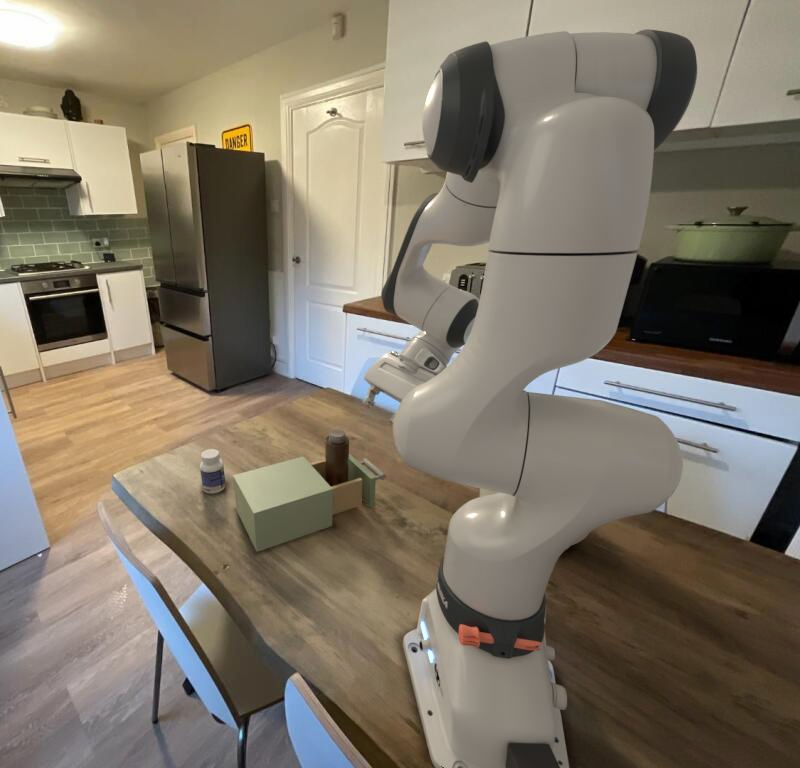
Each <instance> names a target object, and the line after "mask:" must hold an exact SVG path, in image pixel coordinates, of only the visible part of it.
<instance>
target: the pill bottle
mask: <svg viewBox="0 0 800 768" xmlns="http://www.w3.org/2000/svg"><path fill="white" fill-rule="evenodd" d="M200 458H201V462H200V463H199V472H200V478H201V486H202V490H203V492H204V493H207V494H212V495H213V494H217V493H220V492H223V491H224V489H225V488H226V474H225V467H224V461H223V460H222V459H221V456H220V451H219V450H218V449H215V448H209V449H206V450H204V451H202V452H201V454H200Z"/></svg>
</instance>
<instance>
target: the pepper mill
mask: <svg viewBox="0 0 800 768" xmlns="http://www.w3.org/2000/svg"><path fill="white" fill-rule="evenodd" d="M324 452H325V453H324V456H325V457H324V459H325V481H326V482H327V483H328V484H329V485H330V487H332V486H335V485H338V484H341V483H345V482H348V473H349V454H350V439H349V437H348V436H346V432H345V430H343V429H340V428H336V429H335V428H334V429H331V430H330V431H329V432H328V436H326V437H325V440H324Z"/></svg>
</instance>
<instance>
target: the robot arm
mask: <svg viewBox="0 0 800 768" xmlns="http://www.w3.org/2000/svg"><path fill="white" fill-rule="evenodd" d="M697 77H698V61H697V53H696V50H695V46H694V45H693V43H692V41H691V40H690V39H689V38H687V37H686V36H683V35H681V34H678V33H675V32H670V31H665V30H664V31H663V30H658V29H647V28H646V29H641V30H639V31H637V32H635V33H630V32H629V33H627V32H607V31H604V32H603V31H600V32H598V31H596V32H594V31H593V32H591V31H590V32H572V33H570V32H568V31H567V30H563V31H554V32H547V33H546V32H545V33H539V34H533V35H527V36H522V37H518V38H513V39H509V40H504V41H501V42H496V43H492V44H490V43H489V42H488V41H487V40H485V41H481V42H477V43H473V44H471V45H468V46H465V47H462V48H459V49H457V50H455V51H453V52H450V53H449V54H448V55H447V56H446V57H445V59H444V60H443V62H442V63H441V64H440V65H439V67H438V68H437V70H436V72H435V75H434V78H433V81H432V83H431V85H430V87H429V90H428V91H427V95H426V99H425V101H424V106H423V111H422V119H421V120H422V121H421V123H422V125H421V127H422V136H423V140H424V145H425V148H426V155H427V157H428V160H430V161H431V162H432V164H434V165H435V166H436V167H437V168H438V169H439V170H440V171H441V170H442V171H444V172H446V174H445V175H446V176H445V178H444V183H443V185H442V188H441V189H440V191H439V192H435V193H431V194H430V195H428V196H427V197H426V198H425V199H424V200H423V201H422V202H421V204H420V205H418V208H417V209H416V210H415V212H414V214H413V216H412V219H411V220H410V223H409V225H408V228H407V230H406V232H405V235H404V238H403V241H402V243H401V246H400V249H399V251H398V253H397V256H396V260H395V261H394V265H393V267H392V270H391V271H390V274H389V276H388V277H387V279H386V281H385V282H384V285H383V287H382V289H381V294H380V295H381V301H382V305H383V309H384V311H385V312H386V313H388V314H391V315H393V316H395V317H396V318H399V319H401V320H403V321H405V322H407V323H408V324H410V325H411V326H412V327H415V328H417V329H418V330H420V331H419V332H418V333H417V334H415V335H413V336H412V338H411V339H410V340H409V342H408V343H407V344H406V345H405V347H404V348H403V349H402V350H401V352H400V353H399V352H398V351H395V350H392V351H390V352H386V353H384V355H381V356H380V357H379V358H378V359H377V360H376V361H375V362H374V363H372V364H371V366H370V367H369V368H368V369H367V370H366V371H365V373H364V376H363V380H364V381H366V383H367V384H368V385H369V387H368V388H367V393H366V397H365V398H364V399H363V401H362V404H363V406H365V407H366V408H368V409H372V408H373V406H374V405H375V404H376V402H375V399H376V396H378V395H379V394H380V393H383V394H385V395H387V396H388V397H390V398H392V400H393V399H394V401H397V402H398V403H399V405H398V407H397V408H396V411H395V413H393V414H392V415H391V417H390V418H389V421H388V422H389V423H390V424H392V437H393V443H394V446H395V449H396V452H397V454H398V456H399V457H400V459H401V460H402V462H403V463H404V464H405V465H406V466H407V467H409V468H411V469H414V470H416V471H419V472H420V473H423V474H426V475H427V476H431V477H433V478H436V479H438V480H441V481H443V482H445V483H446V482H447V483H451V484H456V485H459V486H460V485H461V486H466V487H471V488H474V489H479V490H480V489H485V490H490V491H494V492H499V493H495V494H491V495H487V496H482V497H480V496H478V497H475V498H473V499H470V500H469V501H467V502H466V503H464V504H462V505H461V506H460V507H459V508H458V509H457V510H456V511H455V512H454V513H453V515H452V516H451V518H450V520H449V522H448V527H447V535H446V543H445V549H444V555H443V557H442V558H441V560H440V563H439V566H438V568H437V573H436V584H435V588H434V589H433V590H432V591H431V592H429V594H427V595H426V596H425V597H424V598H423V599H422V601H421V606H420V610H419V615H418V619H417V620H418V621H417V626H416V628H415V629H413V630H410V631H408V632H407V633H406V634H405V635H404V636H403V640H402V648H403V652H404V656H405V659H406V664H407V668H408V672H409V676H410V680H411V685H412V689H413V693H414V696H415V700H416V705H417V709H418V713H419V717H420V721H421V725H422V729H423V733H424V737H425V741H426V745H427V749H428V754H429V758H430V760H431V763H432V765H433V767H434V768H442V767H444V768H570V763H569V757H568V751H567V745H566V738H565V733H564V727H563V720H562V713H561V711H565V710H567V706H568V695H567V690H566V688H565V687H564V686H563V685H560V684H557V683H556V676H555V671H554V666H553V664H552V662H551V661H555V659H556V652H555V647H552V646H549V645H547V640H546V639H547V638H546V632H545V625H546V621H547V608H546V607H547V606H546V602H547V600H546V590H547V586H548V583H549V581H550V578H551V576H552V573H553V571H554V568H555V567H556V564H557V562H558V560H559V558H560V556H561V555H562V554H563V553H564V552H565V551H566V550H567V549H566V548H568V547H569V546H570V545H571V544H572V543H573V542H575V541H576V540H577V539H579V538H580V537H582V536H583V535H585V534H587V533H588V532H590V531H591V532H592V531H594V530H596V529H598V528H600V527H602V526H604V525H607V524H609V523H612V522H615V521H618V520H621V519H626V518H629V517H635V516H640V515H645V514H650V513H652V512H654V511H655V510H657V509H659V508H660V507H661V506H662V505H664V504H666V502H667V501H668V500H669V499H670V498H671V497H672V496H673V495H674V493H675V492H676V490H677V489H678V487H679V485H680V482H681V479H682V474H683V470H684V469H683V467H684V461H683V453H682V450H681V447H680V444H679V441H678V440H677V438H676V436H675V434H674V433H673V431H672V430H671V428H670V427H669V426H668V425H667V424H666V423H665V422H664V421H663V419H661V418H660V417H659V416H656V415H655V414H652V413H648V412H644V411H641V410H638V409H634V408H631V407H628V406H624V405H620V404H616V403H613V402H609V401H605V400H601V399H595V398H594V399H592V398H585V397H584V398H583V397H575V396H566V395H558V394H549V393H540V392H532V391H526V390H525V389H526V388H527V386H528V385H530V384H531V383H532V382H533V381H534V380H536V379H538V378H539V377H541V376H543V375H544V374H546V373H549V372H551V371H554V370H557V369H561V368H565V367H569V366H572V365H575V364H578V363H581V362H583V361H585V360H588V359H589V358H591V357H593V356H595V355H596V354H597V353H599V352H600V351H601V350H603V349H604V348H605V347H606V346H607V345H608V344H609V343H610V341H611V340H612V339H613V337H614V336H615V334H616V333H617V330H618V326H619V323H620V320H621V319H620V318H621V315H622V311H623V309H624V305H625V300H626V297H627V293H628V290H629V287H630V283H631V280H632V279H631V278H632V275H633V271H634V268H635V264H636V261H637V256H638V252H639V251H638V250H639V249H640V245H641V241H642V237H643V233H644V228H645V225H646V224H645V223H646V218H647V214H648V209H649V203H650V202H649V201H650V195H651V187H652V180H653V169H654V157H655V150H656V149H658V148H659V147H660V146H661V145H662V144H663V143H664V141H666V139H667V138H668V137H669V136H670V135H671V134H672V133H673V132H674V130H675V129H676V128H677V127H678V125H679V123H680V122H681V120H682V118H683V117H684V116H685V113H686V111H687V109H688V107H689V105H690V102H691V100H692V98H693V95H694V91H695V88H696V83H697V79H698V78H697ZM488 243H489V244H488ZM485 244H488V251H487V254H486V262H485V269H484V275H483V280H482V286H481V290H480V291H481V292H480V296H479V297H477V296H476V294H474V293H471V292H470V291H467V290H462V289H460V288H458V287H457V286H454V285H451V284H449V283H447V282H446V281H444V280H441V279H440V278H438V277H436V276H434V275H433V274H430V272H428V270H426V269H425V267H424V263H425V261H426V258H427V256H428V254H429V252H430V250H431V248H432V245H450V246H457V247H475V246H481V245H485ZM459 349H461V350H460V351H459V353H458V354H457V355H456V356H455V358H454V359H453V360H452V358H453V355H455V353H456V352H457V351H458V350H459ZM451 360H452V361H451ZM591 532H590V533H591ZM571 546H572V545H571ZM571 546H570V547H571ZM570 547H569V548H570ZM569 548H568V549H569ZM565 549H566V550H565ZM564 550H565V551H564ZM414 651H415V652H414ZM441 766H442V767H441Z"/></svg>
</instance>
